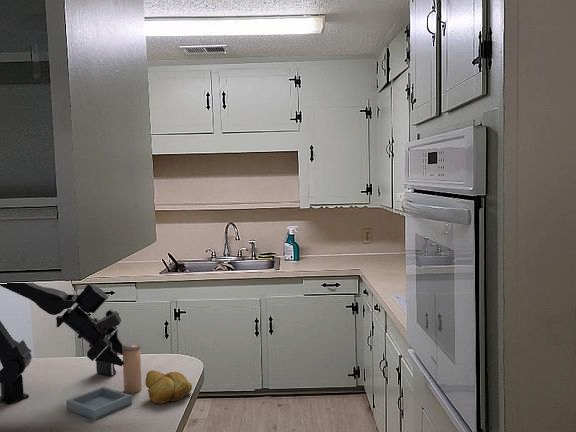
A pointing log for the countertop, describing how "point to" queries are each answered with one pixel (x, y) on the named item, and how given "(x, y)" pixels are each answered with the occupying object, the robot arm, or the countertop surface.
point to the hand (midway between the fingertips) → (125, 359)
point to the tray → (99, 402)
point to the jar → (132, 367)
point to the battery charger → (105, 368)
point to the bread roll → (167, 386)
